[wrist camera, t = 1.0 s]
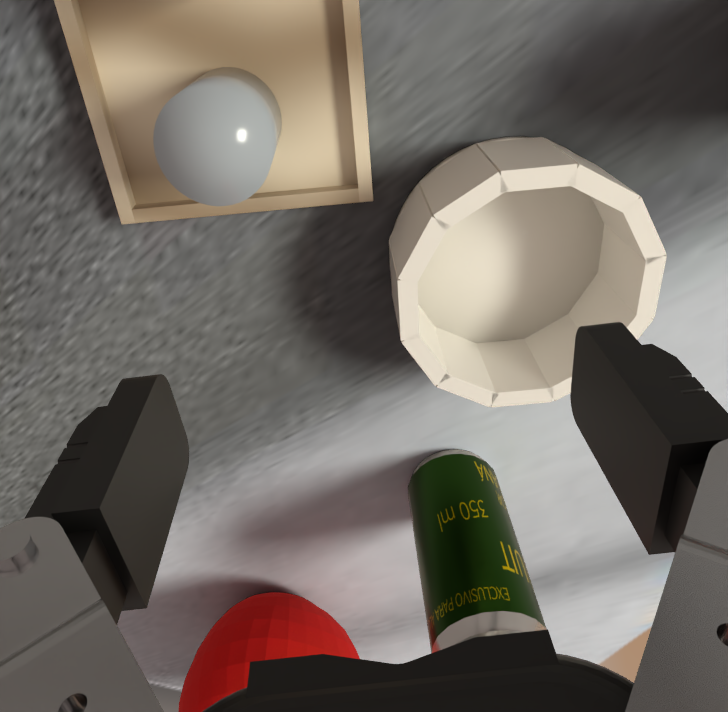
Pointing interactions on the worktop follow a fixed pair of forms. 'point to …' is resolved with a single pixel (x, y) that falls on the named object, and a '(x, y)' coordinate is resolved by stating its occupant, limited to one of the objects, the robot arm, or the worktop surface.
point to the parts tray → (215, 50)
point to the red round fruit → (258, 644)
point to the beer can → (468, 552)
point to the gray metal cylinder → (219, 136)
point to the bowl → (518, 267)
